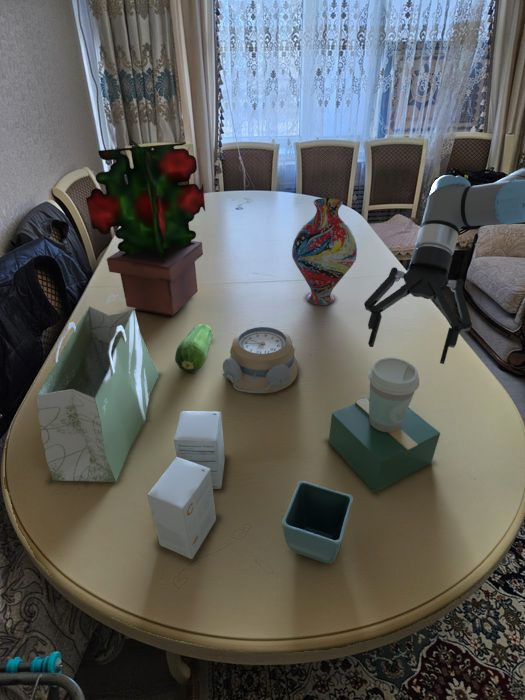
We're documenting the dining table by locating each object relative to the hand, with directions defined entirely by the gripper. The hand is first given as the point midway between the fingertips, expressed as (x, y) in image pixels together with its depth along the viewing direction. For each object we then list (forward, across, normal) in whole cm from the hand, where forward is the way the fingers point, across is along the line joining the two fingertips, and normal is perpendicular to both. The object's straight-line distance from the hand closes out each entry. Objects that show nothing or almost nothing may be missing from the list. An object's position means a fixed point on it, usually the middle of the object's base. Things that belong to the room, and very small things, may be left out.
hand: (405, 353), depth 87 cm
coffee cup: (+14, 0, +2) cm, 14 cm away
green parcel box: (+20, 0, -4) cm, 20 cm away
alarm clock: (+12, +32, -12) cm, 36 cm away
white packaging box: (+33, +28, +10) cm, 45 cm away
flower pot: (+37, +5, +13) cm, 39 cm away
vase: (-20, +32, -43) cm, 57 cm away
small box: (+41, +24, +18) cm, 51 cm away
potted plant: (-3, +74, -26) cm, 79 cm away
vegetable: (+10, +51, -14) cm, 53 cm away
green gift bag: (+30, +54, +7) cm, 62 cm away
